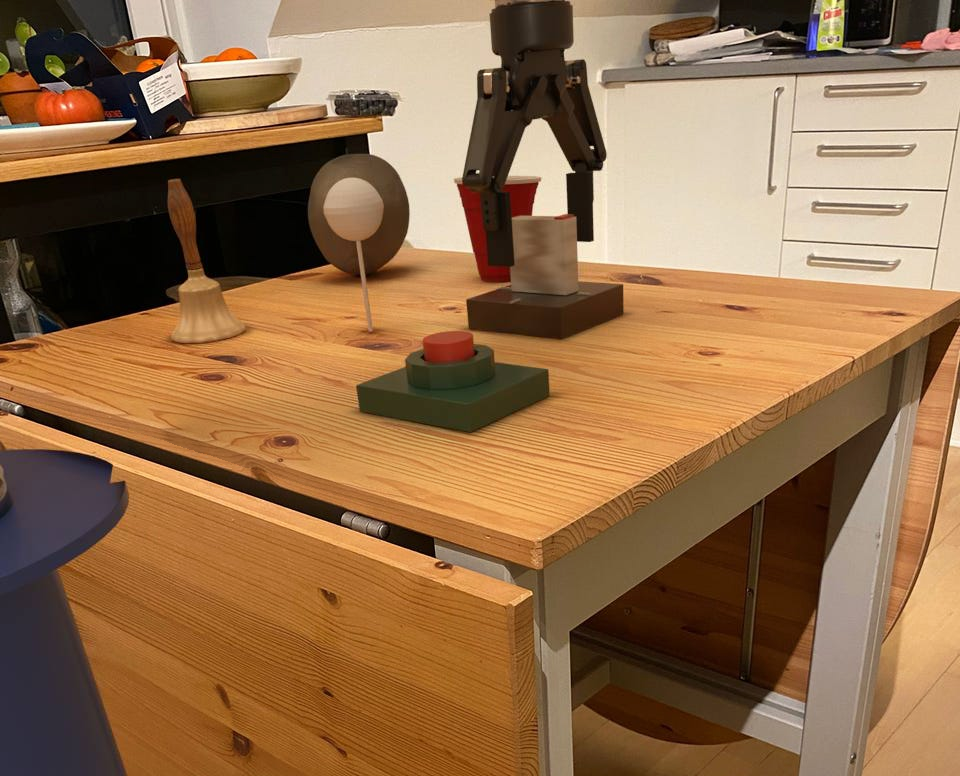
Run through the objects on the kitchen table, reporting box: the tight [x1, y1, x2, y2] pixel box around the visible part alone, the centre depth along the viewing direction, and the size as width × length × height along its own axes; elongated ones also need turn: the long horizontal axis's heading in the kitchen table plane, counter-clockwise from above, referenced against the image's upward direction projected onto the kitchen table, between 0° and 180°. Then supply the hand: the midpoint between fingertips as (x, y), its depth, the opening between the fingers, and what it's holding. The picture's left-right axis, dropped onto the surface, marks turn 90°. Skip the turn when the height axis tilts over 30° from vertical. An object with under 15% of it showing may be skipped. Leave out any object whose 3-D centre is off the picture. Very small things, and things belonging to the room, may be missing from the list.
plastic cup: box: [453, 175, 543, 283], centre depth 122 cm, size 11×11×12 cm
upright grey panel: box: [510, 213, 579, 295], centre depth 99 cm, size 7×2×7 cm, turn 50°
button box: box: [355, 343, 551, 433], centre depth 79 cm, size 12×10×4 cm
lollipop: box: [324, 178, 384, 333], centre depth 101 cm, size 6×6×15 cm
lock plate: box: [465, 280, 625, 340], centre depth 101 cm, size 12×11×3 cm
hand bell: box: [167, 178, 247, 344], centre depth 107 cm, size 8×8×16 cm
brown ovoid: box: [307, 153, 411, 276], centre depth 131 cm, size 14×14×15 cm
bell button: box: [422, 330, 475, 363], centre depth 78 cm, size 4×4×2 cm
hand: (542, 253), depth 99 cm, fingers open, 13 cm apart
